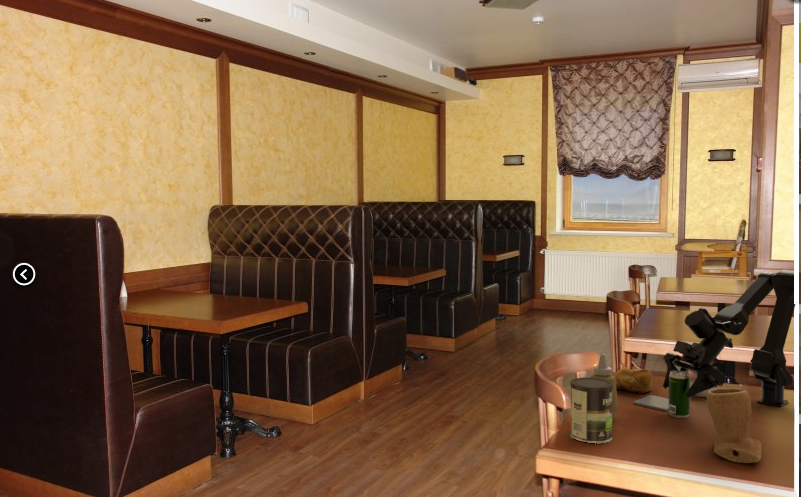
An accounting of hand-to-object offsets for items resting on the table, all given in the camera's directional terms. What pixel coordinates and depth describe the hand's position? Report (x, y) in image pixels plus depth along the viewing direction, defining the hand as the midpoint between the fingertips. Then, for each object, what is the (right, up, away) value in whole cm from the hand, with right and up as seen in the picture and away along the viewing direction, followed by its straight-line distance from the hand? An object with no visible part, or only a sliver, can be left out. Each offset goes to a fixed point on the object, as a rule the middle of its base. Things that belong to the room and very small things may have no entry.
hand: (675, 391), depth 181 cm
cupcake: (+16, -5, +20) cm, 26 cm away
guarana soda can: (+1, -7, +1) cm, 7 cm away
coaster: (0, -6, +12) cm, 13 cm away
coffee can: (-28, -8, -15) cm, 32 cm away
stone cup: (+2, -9, -27) cm, 28 cm away
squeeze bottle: (-21, -7, -2) cm, 22 cm away
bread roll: (-3, -5, +27) cm, 28 cm away
